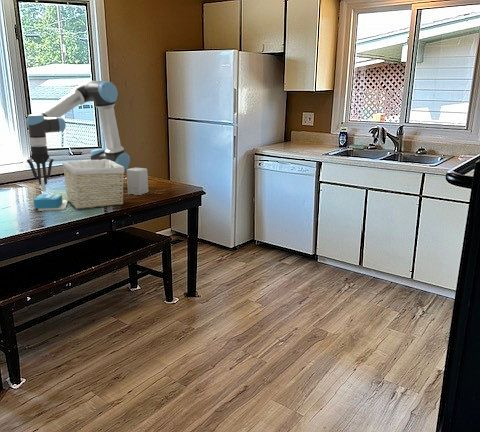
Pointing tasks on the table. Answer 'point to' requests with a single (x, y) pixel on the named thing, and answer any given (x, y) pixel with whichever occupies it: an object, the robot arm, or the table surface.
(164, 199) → the table surface
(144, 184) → the supplement box
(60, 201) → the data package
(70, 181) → the basket
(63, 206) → the white flat rectangular panel
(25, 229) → the table surface
